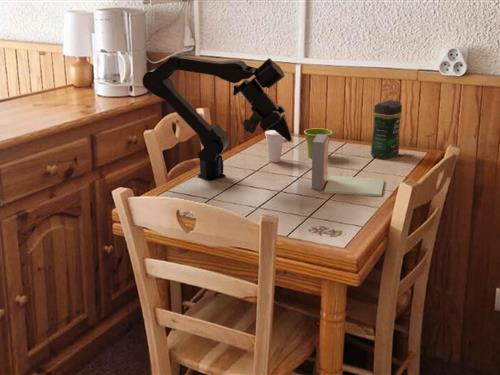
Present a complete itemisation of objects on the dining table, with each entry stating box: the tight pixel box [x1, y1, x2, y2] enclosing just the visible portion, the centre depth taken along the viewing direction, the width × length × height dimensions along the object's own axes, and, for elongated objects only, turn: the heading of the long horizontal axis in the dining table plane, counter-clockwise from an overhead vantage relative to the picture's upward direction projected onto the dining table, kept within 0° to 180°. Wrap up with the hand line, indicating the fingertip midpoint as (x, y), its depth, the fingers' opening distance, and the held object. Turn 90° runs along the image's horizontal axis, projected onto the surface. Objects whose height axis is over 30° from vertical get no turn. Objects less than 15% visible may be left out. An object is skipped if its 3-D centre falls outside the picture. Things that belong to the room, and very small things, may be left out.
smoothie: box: [264, 130, 284, 163], centre depth 221 cm, size 6×6×14 cm
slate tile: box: [311, 134, 330, 190], centre depth 198 cm, size 3×9×14 cm, turn 166°
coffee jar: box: [370, 99, 403, 160], centre depth 226 cm, size 10×8×19 cm
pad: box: [323, 175, 385, 197], centre depth 198 cm, size 16×14×1 cm
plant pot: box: [303, 127, 333, 159], centre depth 226 cm, size 9×9×9 cm
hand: (290, 140), depth 198 cm, fingers closed
